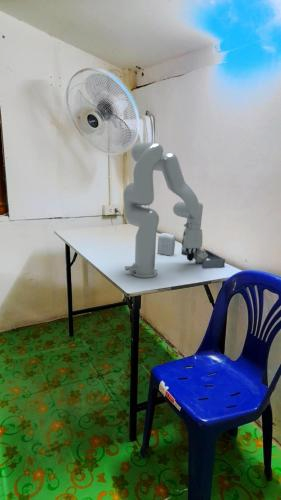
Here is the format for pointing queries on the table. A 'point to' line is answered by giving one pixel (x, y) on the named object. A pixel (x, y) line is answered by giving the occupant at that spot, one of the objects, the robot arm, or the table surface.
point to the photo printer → (166, 244)
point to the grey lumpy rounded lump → (200, 256)
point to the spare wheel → (184, 252)
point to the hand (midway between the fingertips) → (189, 260)
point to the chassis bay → (213, 261)
